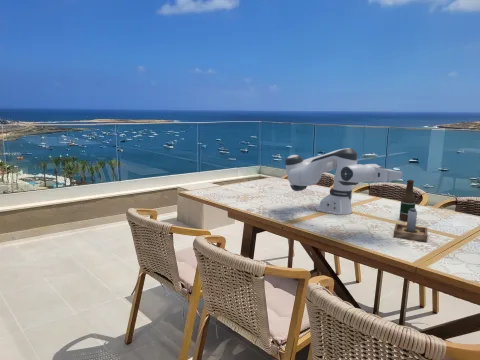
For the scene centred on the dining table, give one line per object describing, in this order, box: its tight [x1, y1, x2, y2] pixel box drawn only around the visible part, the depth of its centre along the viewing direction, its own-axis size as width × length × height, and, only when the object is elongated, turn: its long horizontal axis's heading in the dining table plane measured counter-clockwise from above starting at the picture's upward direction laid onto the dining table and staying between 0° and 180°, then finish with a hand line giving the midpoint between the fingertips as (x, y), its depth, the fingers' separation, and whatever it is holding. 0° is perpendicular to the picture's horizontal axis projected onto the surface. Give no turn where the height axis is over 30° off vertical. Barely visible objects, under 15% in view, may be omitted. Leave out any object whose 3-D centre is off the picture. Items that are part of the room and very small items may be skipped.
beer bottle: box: [398, 179, 417, 223], centre depth 211 cm, size 8×8×24 cm
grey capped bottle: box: [406, 207, 418, 233], centre depth 184 cm, size 4×4×13 cm
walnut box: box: [393, 223, 428, 243], centre depth 185 cm, size 15×15×3 cm
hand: (394, 172), depth 183 cm, fingers open, 8 cm apart
